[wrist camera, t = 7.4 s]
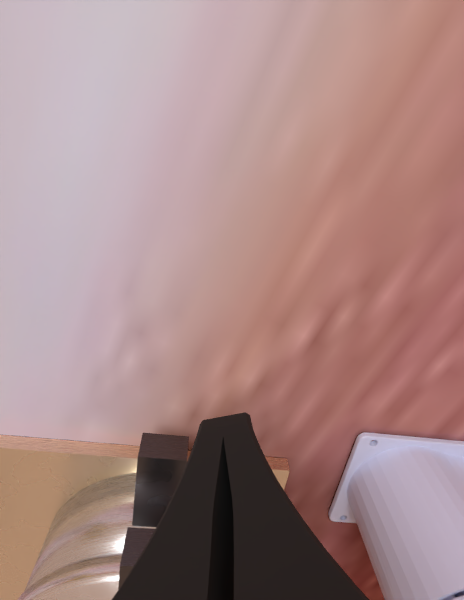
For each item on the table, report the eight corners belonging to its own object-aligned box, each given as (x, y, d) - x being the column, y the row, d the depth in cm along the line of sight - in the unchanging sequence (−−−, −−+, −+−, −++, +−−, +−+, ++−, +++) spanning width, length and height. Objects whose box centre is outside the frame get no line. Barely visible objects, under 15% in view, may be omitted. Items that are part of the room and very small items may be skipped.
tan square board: (300, 410, 24) (327, 495, 19) (241, 615, 33) (247, 713, 27) (-24, 379, 22) (-102, 463, 16) (5, 607, 31) (-39, 711, 25)
